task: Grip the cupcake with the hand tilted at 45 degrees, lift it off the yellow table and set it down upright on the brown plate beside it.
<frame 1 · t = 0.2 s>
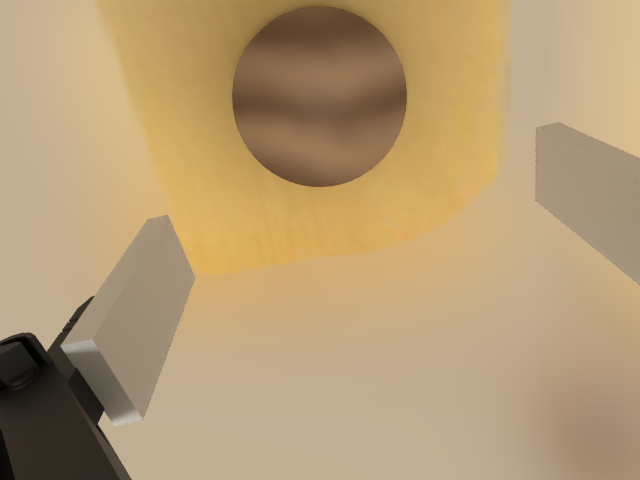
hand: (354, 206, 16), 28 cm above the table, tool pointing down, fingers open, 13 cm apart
brown plate: (319, 98, 40), on the table
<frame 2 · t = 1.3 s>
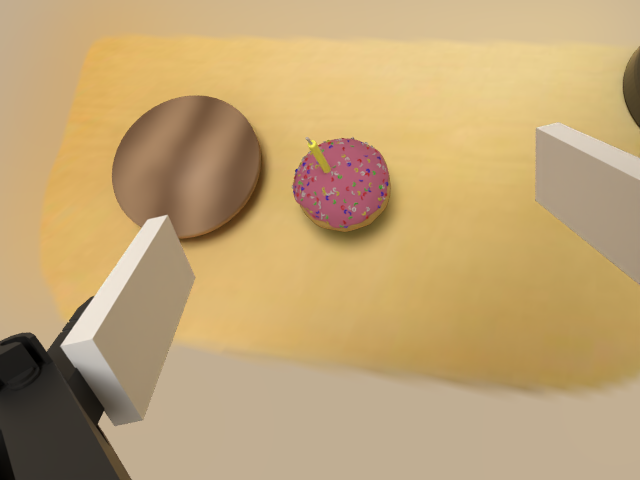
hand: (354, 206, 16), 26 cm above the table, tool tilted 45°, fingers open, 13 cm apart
brown plate: (196, 174, 46), on the table
cupcake: (345, 201, 43), on the table
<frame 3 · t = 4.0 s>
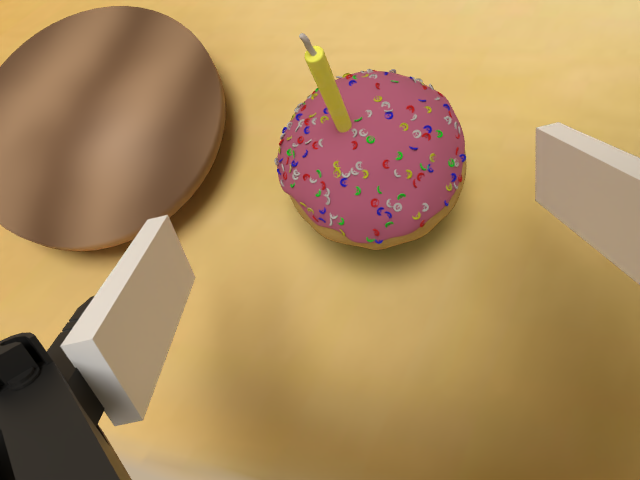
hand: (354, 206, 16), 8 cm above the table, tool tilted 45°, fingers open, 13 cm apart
brown plate: (120, 142, 27), on the table
cupcake: (372, 193, 25), on the table
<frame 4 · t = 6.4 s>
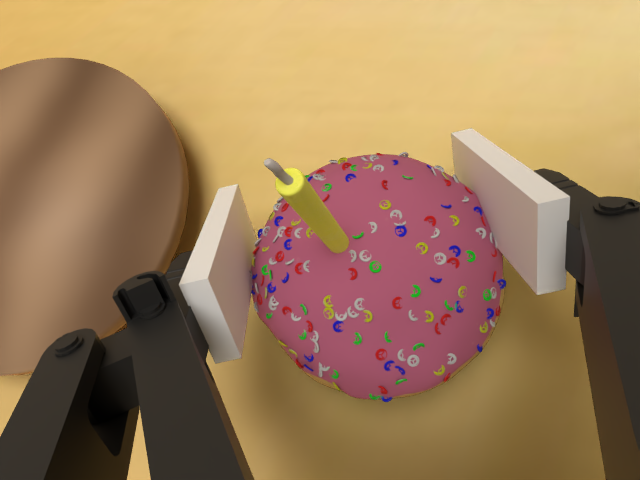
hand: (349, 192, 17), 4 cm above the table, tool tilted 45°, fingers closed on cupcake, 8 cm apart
brown plate: (64, 221, 22), on the table
cupcake: (376, 290, 20), on the table, touching gripper
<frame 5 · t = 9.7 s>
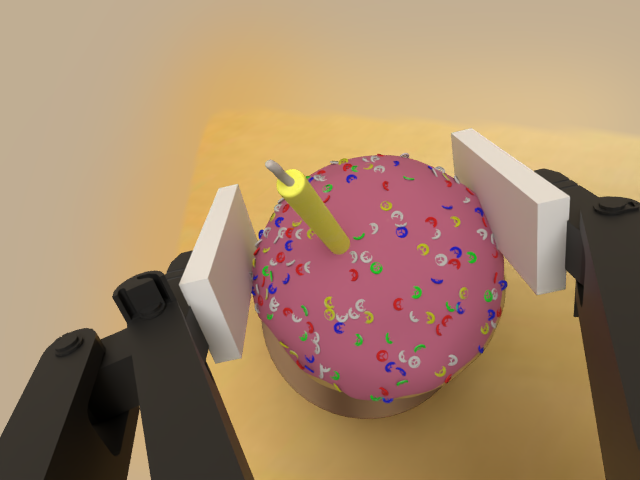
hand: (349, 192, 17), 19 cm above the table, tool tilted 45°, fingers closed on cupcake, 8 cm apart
brown plate: (363, 312, 35), on the table
cupcake: (376, 291, 20), point 15 cm above the table, touching gripper
when the fingers open (8 cm above the table, at t = 13.2 s): cupcake drops 1 cm, resting on brown plate.
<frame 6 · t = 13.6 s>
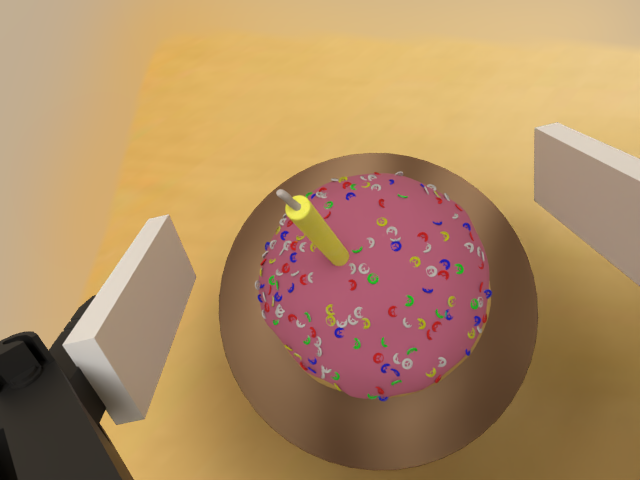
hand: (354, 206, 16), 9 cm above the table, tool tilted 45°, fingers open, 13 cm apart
brown plate: (371, 304, 24), on the table
cupcake: (374, 297, 21), point 3 cm above the table, touching brown plate
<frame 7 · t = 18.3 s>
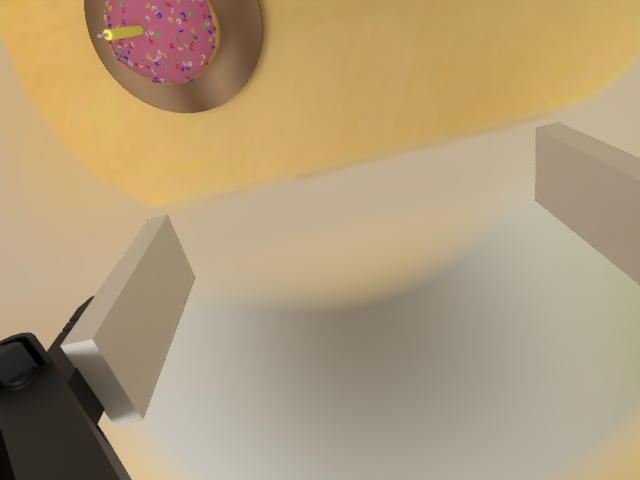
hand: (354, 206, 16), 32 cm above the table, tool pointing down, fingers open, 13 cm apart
brown plate: (182, 24, 41), on the table
cupcake: (177, 25, 38), point 3 cm above the table, touching brown plate
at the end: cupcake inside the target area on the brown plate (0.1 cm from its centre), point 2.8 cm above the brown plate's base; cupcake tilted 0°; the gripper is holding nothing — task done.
